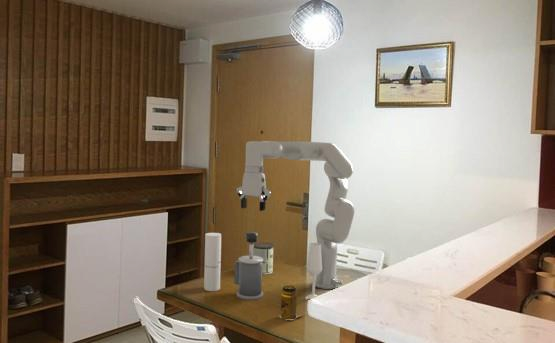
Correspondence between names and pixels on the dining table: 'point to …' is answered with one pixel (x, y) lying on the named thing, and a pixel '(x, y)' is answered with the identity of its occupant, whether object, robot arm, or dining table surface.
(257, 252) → the coffee can
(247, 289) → the press housing
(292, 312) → the condiment
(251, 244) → the plunger
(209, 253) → the cylindrical container
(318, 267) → the champagne flute
